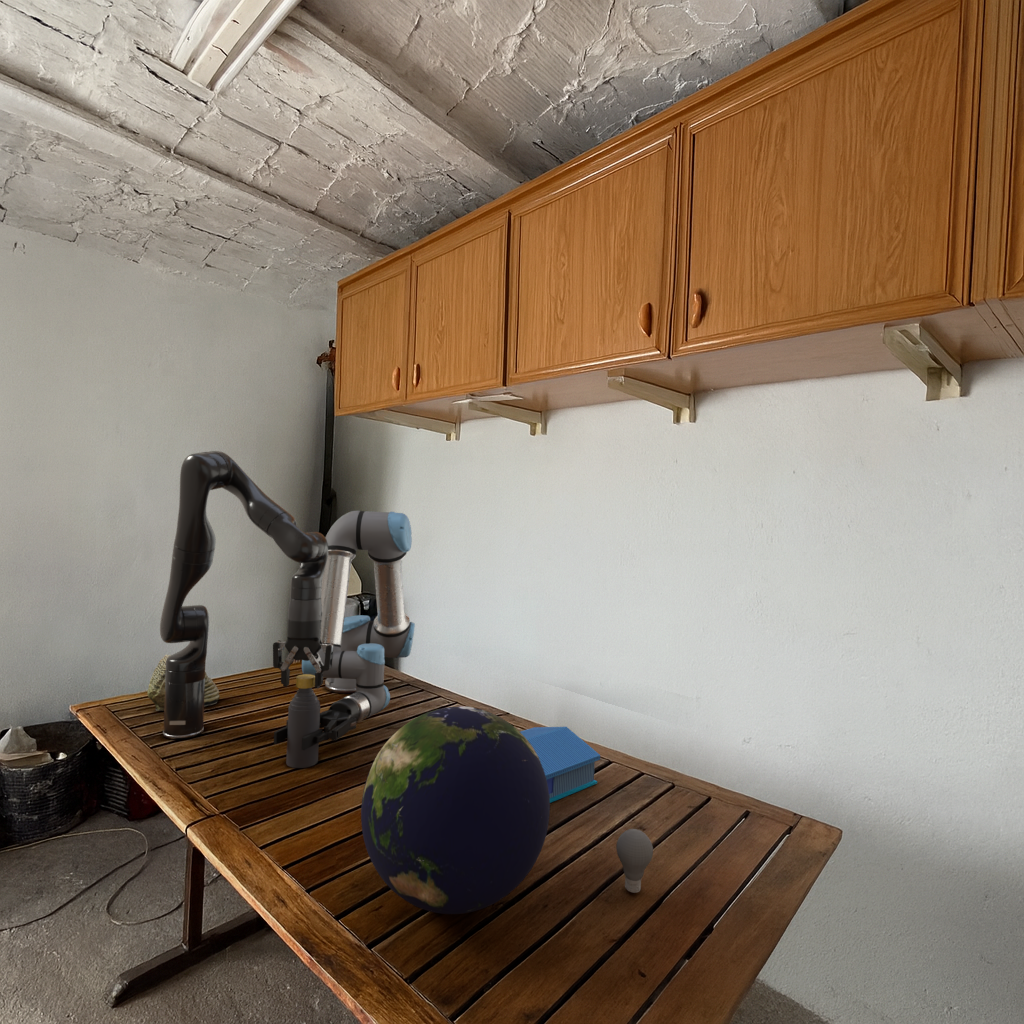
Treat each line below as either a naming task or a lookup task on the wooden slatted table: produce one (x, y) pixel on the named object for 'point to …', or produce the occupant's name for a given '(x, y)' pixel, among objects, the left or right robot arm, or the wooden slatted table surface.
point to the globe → (455, 810)
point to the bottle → (302, 728)
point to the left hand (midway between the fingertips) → (301, 686)
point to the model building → (563, 759)
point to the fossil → (158, 687)
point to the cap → (305, 681)
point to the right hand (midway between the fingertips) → (289, 740)
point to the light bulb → (634, 857)
